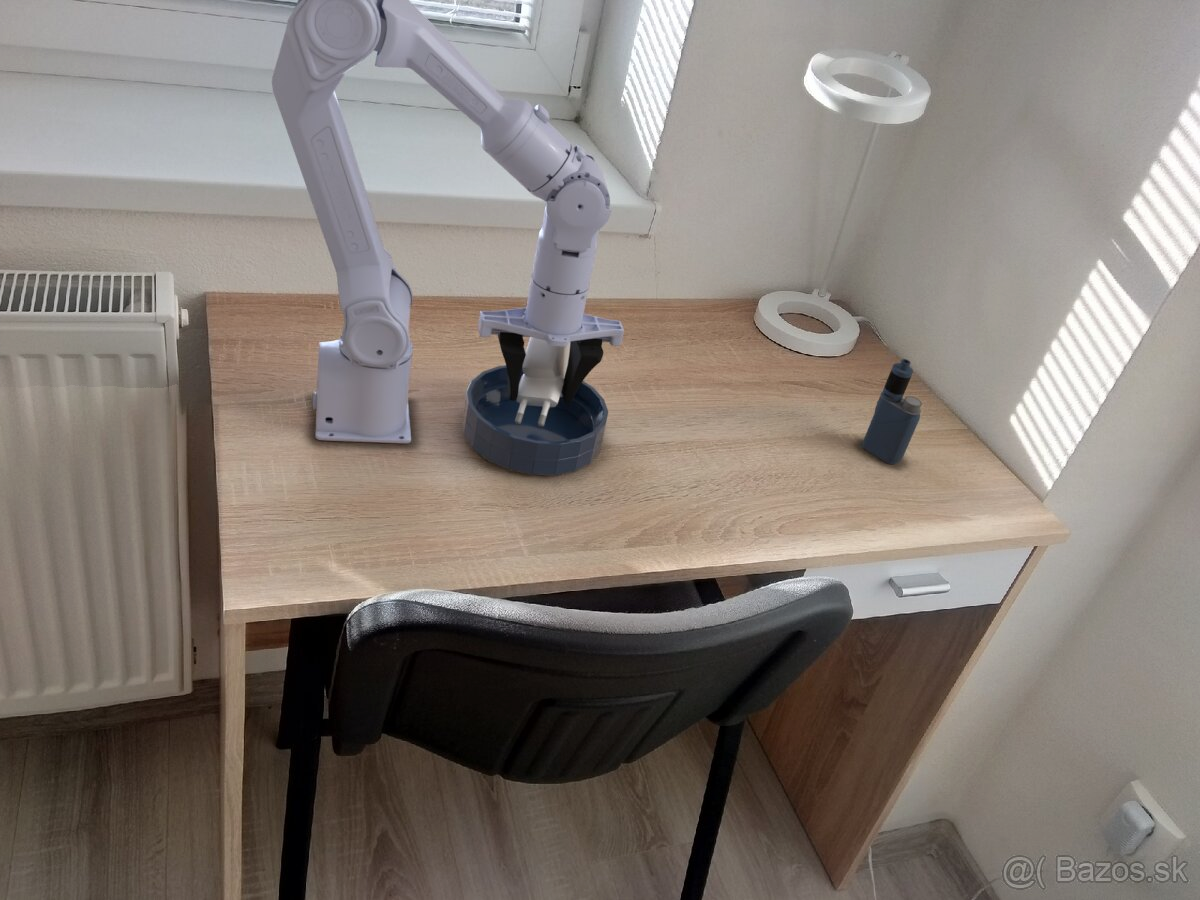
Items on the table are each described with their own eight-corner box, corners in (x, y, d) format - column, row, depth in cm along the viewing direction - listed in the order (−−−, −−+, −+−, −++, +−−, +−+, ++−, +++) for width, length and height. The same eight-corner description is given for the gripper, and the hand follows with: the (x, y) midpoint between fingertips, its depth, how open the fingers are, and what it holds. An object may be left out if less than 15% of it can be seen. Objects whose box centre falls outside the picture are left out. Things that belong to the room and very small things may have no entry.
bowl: (469, 476, 105) (474, 440, 102) (456, 394, 117) (460, 360, 114) (612, 481, 109) (621, 446, 106) (585, 401, 121) (593, 368, 118)
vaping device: (867, 438, 126) (902, 353, 119) (904, 461, 123) (942, 375, 116) (856, 445, 124) (890, 358, 117) (893, 468, 121) (930, 381, 115)
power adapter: (558, 443, 110) (544, 414, 105) (515, 439, 112) (499, 410, 107) (583, 356, 115) (571, 325, 110) (542, 353, 117) (528, 322, 112)
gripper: (491, 294, 97) (474, 415, 105) (640, 306, 101) (612, 421, 109) (483, 260, 103) (467, 377, 110) (624, 272, 107) (599, 384, 114)
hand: (539, 396), depth 110 cm, fingers closed on power adapter, 5 cm apart
